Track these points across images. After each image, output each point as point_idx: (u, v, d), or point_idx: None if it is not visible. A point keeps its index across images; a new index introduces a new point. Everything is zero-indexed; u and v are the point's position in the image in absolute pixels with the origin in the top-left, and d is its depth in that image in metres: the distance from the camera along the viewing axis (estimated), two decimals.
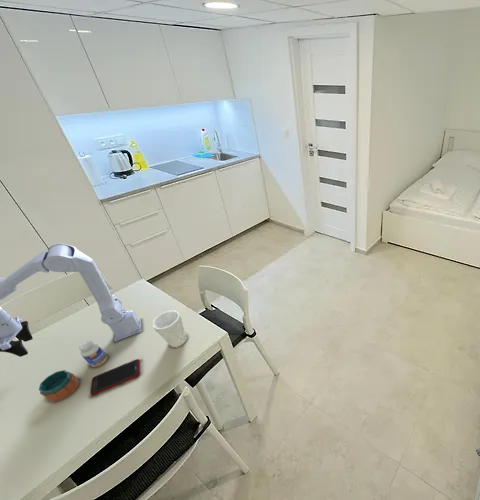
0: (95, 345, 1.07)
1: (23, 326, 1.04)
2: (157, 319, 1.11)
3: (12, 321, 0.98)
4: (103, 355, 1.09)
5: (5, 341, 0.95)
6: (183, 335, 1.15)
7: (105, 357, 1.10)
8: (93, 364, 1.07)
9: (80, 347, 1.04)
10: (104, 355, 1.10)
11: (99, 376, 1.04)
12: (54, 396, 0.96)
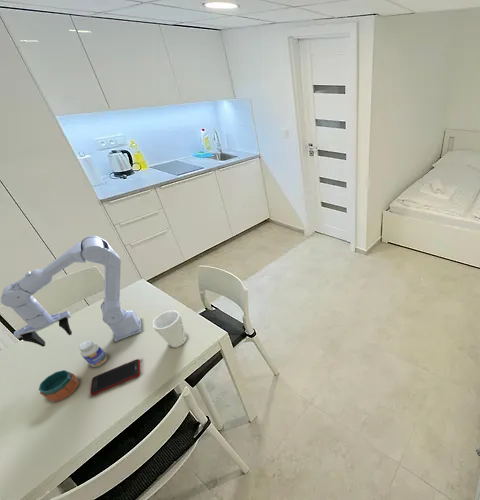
0: (95, 345, 1.07)
1: None
2: (157, 319, 1.11)
3: (34, 321, 0.98)
4: (103, 355, 1.09)
5: (22, 330, 0.99)
6: (183, 335, 1.15)
7: (105, 357, 1.10)
8: (93, 364, 1.07)
9: (80, 347, 1.04)
10: (104, 355, 1.10)
11: (99, 376, 1.04)
12: (54, 396, 0.96)
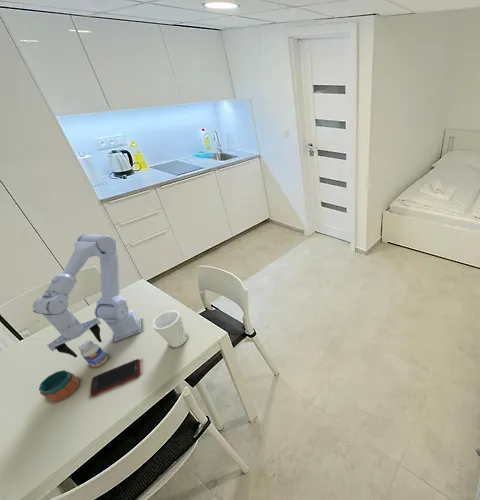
0: (95, 345, 1.07)
1: (92, 331, 1.04)
2: (157, 319, 1.11)
3: (70, 329, 0.97)
4: (103, 355, 1.09)
5: (55, 343, 0.97)
6: (183, 335, 1.15)
7: (105, 357, 1.10)
8: (93, 364, 1.07)
9: (80, 347, 1.04)
10: (104, 355, 1.10)
11: (99, 376, 1.04)
12: (54, 396, 0.96)
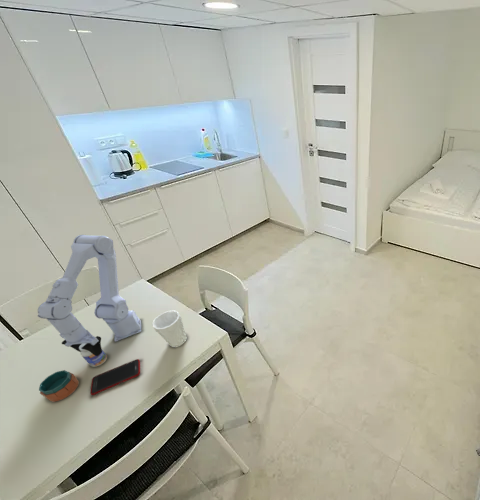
0: None
1: None
2: (157, 319, 1.11)
3: None
4: (103, 355, 1.09)
5: (89, 338, 1.01)
6: (183, 335, 1.15)
7: (105, 357, 1.10)
8: (93, 364, 1.07)
9: (80, 347, 1.04)
10: (104, 355, 1.10)
11: (99, 376, 1.04)
12: (54, 396, 0.96)
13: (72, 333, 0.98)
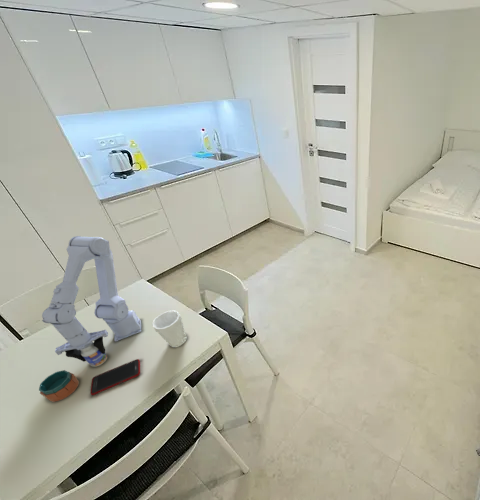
0: None
1: None
2: (157, 319, 1.11)
3: None
4: (103, 355, 1.09)
5: None
6: (183, 335, 1.15)
7: (105, 357, 1.10)
8: (93, 364, 1.07)
9: None
10: (104, 355, 1.10)
11: (99, 376, 1.04)
12: (54, 396, 0.96)
13: (83, 332, 1.01)
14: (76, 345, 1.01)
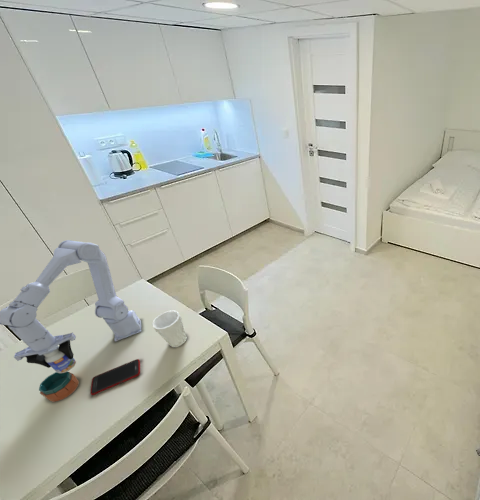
0: None
1: None
2: (157, 319, 1.11)
3: None
4: (71, 360, 1.00)
5: None
6: (183, 335, 1.15)
7: (73, 363, 1.01)
8: (59, 370, 0.98)
9: None
10: (72, 360, 1.00)
11: (99, 376, 1.04)
12: (54, 396, 0.96)
13: (45, 336, 0.91)
14: (38, 350, 0.91)
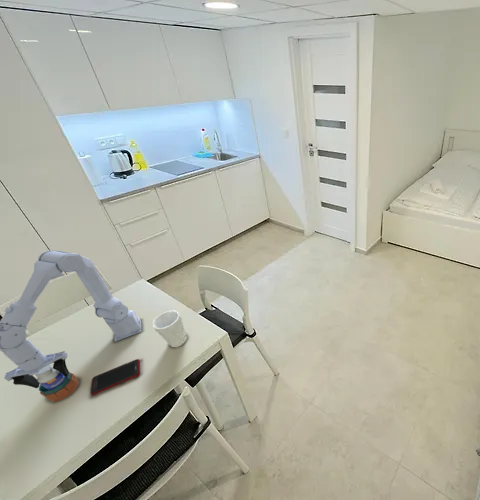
0: (54, 369, 0.97)
1: None
2: (157, 319, 1.11)
3: None
4: (64, 380, 0.99)
5: (56, 355, 0.95)
6: (183, 335, 1.15)
7: None
8: None
9: None
10: None
11: (99, 376, 1.04)
12: (54, 396, 0.96)
13: (36, 356, 0.90)
14: (28, 370, 0.90)
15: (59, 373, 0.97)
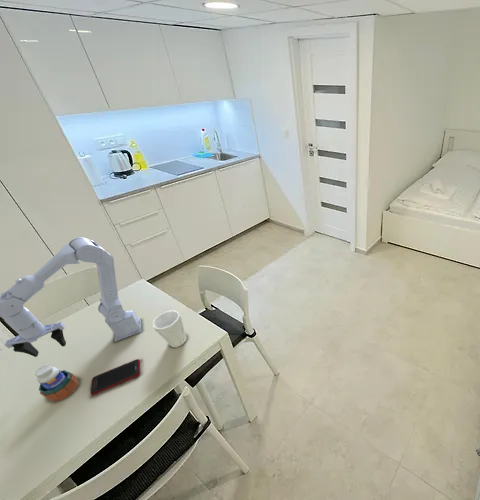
0: (54, 369, 0.97)
1: None
2: (157, 319, 1.11)
3: None
4: (64, 380, 0.99)
5: None
6: (183, 335, 1.15)
7: None
8: None
9: (36, 372, 0.94)
10: None
11: (99, 376, 1.04)
12: (54, 396, 0.96)
13: (35, 324, 0.95)
14: (28, 338, 0.95)
15: (59, 373, 0.97)
